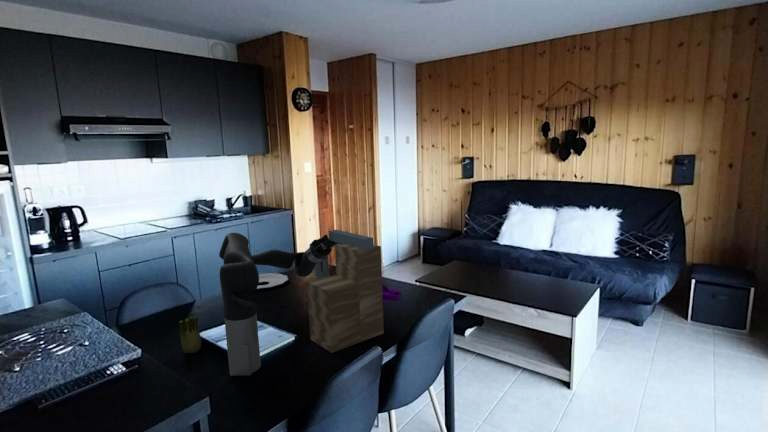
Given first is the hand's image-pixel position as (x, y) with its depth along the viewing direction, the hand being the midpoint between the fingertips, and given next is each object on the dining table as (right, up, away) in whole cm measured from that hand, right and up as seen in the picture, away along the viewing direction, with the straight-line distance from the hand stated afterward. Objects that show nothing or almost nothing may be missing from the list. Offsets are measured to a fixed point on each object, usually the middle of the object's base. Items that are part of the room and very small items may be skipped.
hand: (336, 235), depth 161 cm
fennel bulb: (-47, -39, -18) cm, 63 cm away
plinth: (+5, -36, -10) cm, 37 cm away
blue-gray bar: (+6, -3, -7) cm, 10 cm away
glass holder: (-14, -25, +63) cm, 69 cm away
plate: (-44, -27, +56) cm, 76 cm away
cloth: (+18, -30, +31) cm, 46 cm away
